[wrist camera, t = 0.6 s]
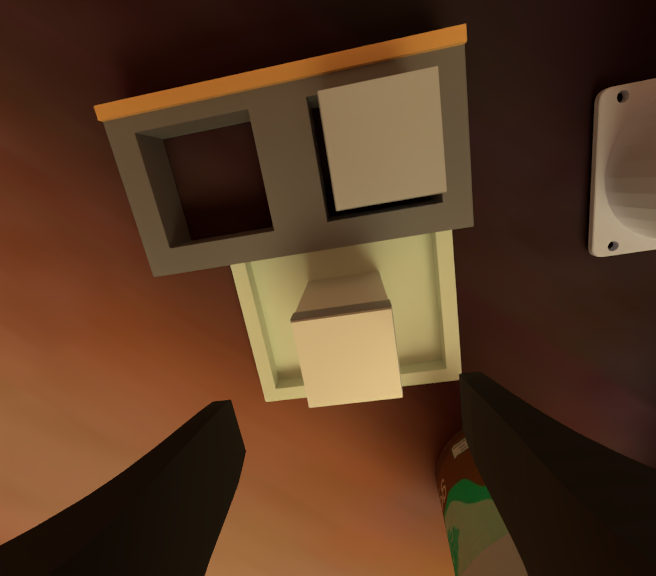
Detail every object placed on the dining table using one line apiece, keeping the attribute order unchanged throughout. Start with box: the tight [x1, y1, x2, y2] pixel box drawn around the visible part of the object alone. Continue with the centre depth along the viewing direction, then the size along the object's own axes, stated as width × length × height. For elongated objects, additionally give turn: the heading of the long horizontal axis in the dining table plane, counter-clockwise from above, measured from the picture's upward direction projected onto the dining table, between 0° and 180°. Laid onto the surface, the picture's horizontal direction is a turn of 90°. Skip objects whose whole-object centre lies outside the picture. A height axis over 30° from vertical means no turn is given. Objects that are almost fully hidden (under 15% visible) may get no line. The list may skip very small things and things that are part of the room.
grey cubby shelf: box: [94, 24, 474, 277], centre depth 17 cm, size 16×8×3 cm, turn 100°
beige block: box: [317, 66, 447, 211], centre depth 15 cm, size 4×4×6 cm
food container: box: [435, 429, 528, 576], centre depth 19 cm, size 12×6×10 cm, turn 27°
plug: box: [290, 271, 403, 408], centre depth 17 cm, size 4×4×6 cm
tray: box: [230, 230, 462, 402], centre depth 19 cm, size 12×10×1 cm
